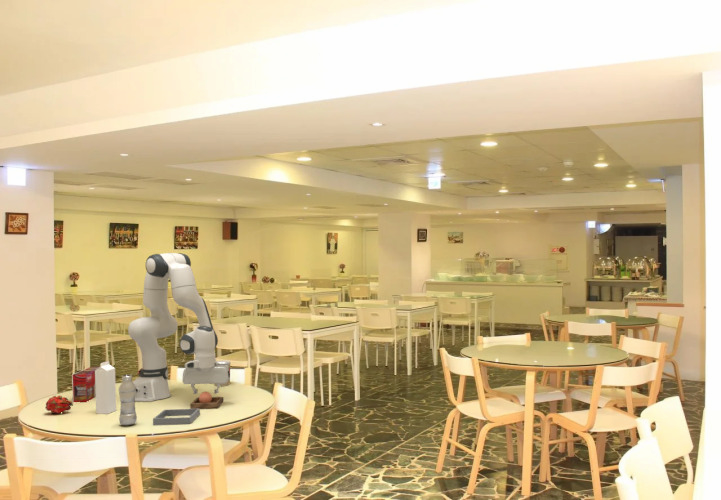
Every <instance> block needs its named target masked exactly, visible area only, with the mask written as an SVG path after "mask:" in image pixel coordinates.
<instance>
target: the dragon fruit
mask: <svg viewBox="0 0 721 500" xmlns="http://www.w3.org/2000/svg"><path fill="white" fill-rule="evenodd" d="M71 407H74V403H73V401H71V400H69V399H68V397H63V396H62V395H53V396H52V397H49V399H47V401H46V402H45V408H44V409H45V410H46V411H48V412H51V414H52V413H54V414H60V413H61V412H63V413H64V412H67V411H70V410H71V409H72V408H71Z"/></svg>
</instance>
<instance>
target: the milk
mask: <svg viewBox="0 0 721 500" xmlns="http://www.w3.org/2000/svg"><path fill="white" fill-rule="evenodd" d="M99 364H100V366H98V367H99V368H98V369H96V370H95V390H96V397H95V414H96V413H98V414H99V415H108V414H112V413H115V412H116V411H117V391H116V390H117V389H116V385H117V384H116V368H115V367H114V366H112V365H111V364H110V360H108V361H104V362H101V363H99ZM111 412H112V413H111Z"/></svg>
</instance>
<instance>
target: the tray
mask: <svg viewBox="0 0 721 500" xmlns="http://www.w3.org/2000/svg"><path fill="white" fill-rule="evenodd" d="M222 404H224V396H213V397H212V400H211V402H210V403H201V402H200V401H199V397H196V398H195V399H194V400H193V401H192V402H190V404H189V406H190V408H189V409H200V410H208V409H210V410H211V409H212V410H213V409H219V408H220V407H221V405H222Z"/></svg>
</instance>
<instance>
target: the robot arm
mask: <svg viewBox="0 0 721 500" xmlns="http://www.w3.org/2000/svg"><path fill="white" fill-rule="evenodd" d="M191 265H192V262H191V259H190V257H189V256H188V255H187V254H186V253H181V252H178V253H176V252H166V253H154V254H151V255H149V256H148V257H147V259H146V261H145V270H146V273H145V277H144V280H143V281H144V283H143V284H144V285H143V294H142V296H143V297H142V303H143V305H144V306H145V307H146V308H147V309H149V312H150V316H145V317H139V318H137V319H136V318H135V319H134V320H132V321H131V322H130V323H129V325H128V327H127V332H128V336H129V338H131V340H133V341H134V342H136V344H137V346H138V347H139V349H140V352H141V361H142V364H141V365H142V367H141V368H140V369H138V371H137V374H138V377H137V378H135V379H134V380H133V381H132V382H133V383H134V384H135V386H136V393H135V402H153V401H157V400H162V399H167V398H169V397H171V396H172V395H171V391H170V387H169V382H168V381H169V380H168V378H169V370H168V365H167V351H166V349H165V348H163V347H161V346H160V345H159V343H158V339H163V338H168V337H170V336H172V335H174V334H175V333H176V332H177V331H178V322H177V319H176V317H174V316H173V315H172V314H171V312H170V310H169V306H168V290H169V281H170V287H171V294H172V298H173V301H174V302H175V303H176V304H177V305H178V306H180V307H182V308H185V309H188V310H190V311H192V312H193V313H194V314H195V315H196V316H195V317H196V319H197V321H198V325H199V326H198V327H197V326H196V328H195V329H194V330H193V331H190V332H188V333H185V334H182V336H181V337H180V339H179V349H180V351H181V352H182V353H184V354H185V355H195V357H194V359H191V360H189V361H187V362H186V363H184V369H183V371H182V384H184V385H190V388H191V389H192V391H193V394H194V395H197V394H198V389H197V388H196V387H195V386H196V385H205V384H206V385H207V384H209V385H214V384H217V386H216V388H214V390H213V391H214V392H213V393H214V394H219V390H220V386H221V384H224V383H227V382H228V380H229V376H228V371H229V366H228V364H226V363H224V362H223V363H216V361H217V360H216V353H215V352H216V351H215V349H216V348H217V346H218V342H219V339H218V338H219V337H218V335H217V333H216V332H215V331H216V330H215V329H214V326H213V324H212V323H213V322H212V320H211V317H210V313H209V309H208V306H207V305H206V302H205V299H204V298H202V297H201V296H200V294H199V291H198V289H197V283H196V279H195V276H194V275H195V274H194V272H193V269H192V267H191ZM225 364H226V365H225ZM221 387H222V386H221Z"/></svg>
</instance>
